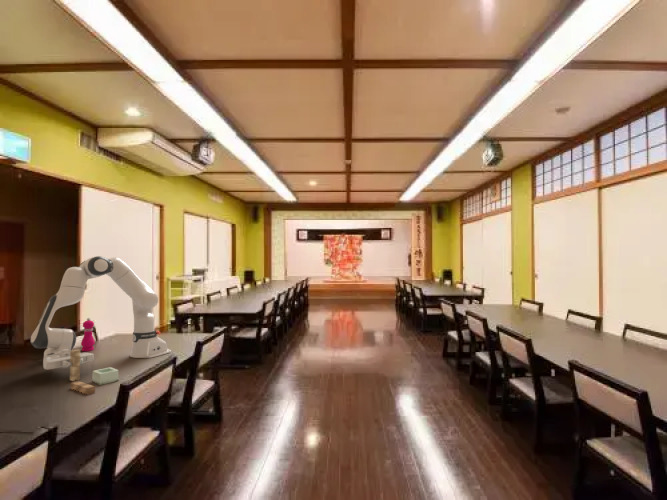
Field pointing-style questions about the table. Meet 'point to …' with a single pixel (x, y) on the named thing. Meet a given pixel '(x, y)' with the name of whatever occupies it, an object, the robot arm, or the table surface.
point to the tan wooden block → (75, 365)
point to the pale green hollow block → (105, 376)
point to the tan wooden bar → (83, 387)
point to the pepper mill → (88, 336)
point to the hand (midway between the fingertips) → (75, 363)
